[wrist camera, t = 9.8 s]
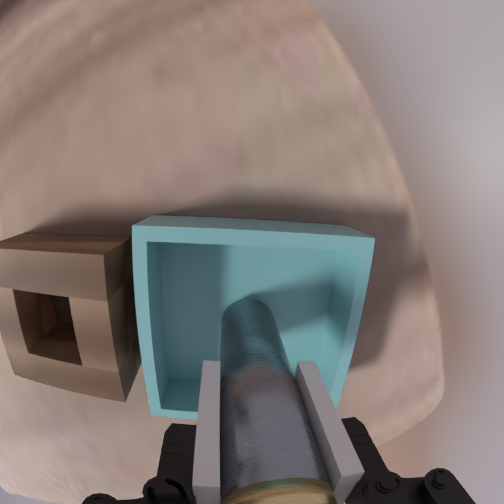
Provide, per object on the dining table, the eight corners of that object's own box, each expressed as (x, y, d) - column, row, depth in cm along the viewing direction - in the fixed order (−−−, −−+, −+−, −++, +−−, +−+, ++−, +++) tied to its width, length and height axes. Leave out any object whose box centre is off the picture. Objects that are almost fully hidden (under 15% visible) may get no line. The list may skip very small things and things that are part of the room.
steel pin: (221, 297, 18) (218, 509, 5) (276, 299, 19) (355, 495, 5) (220, 344, 19) (221, 544, 6) (271, 345, 20) (324, 535, 6)
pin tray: (153, 215, 18) (131, 225, 14) (345, 225, 20) (375, 238, 15) (161, 378, 21) (151, 415, 17) (318, 380, 23) (334, 415, 18)
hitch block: (23, 233, 18) (-17, 247, 13) (132, 236, 19) (103, 254, 14) (42, 344, 20) (14, 374, 15) (141, 361, 21) (125, 402, 16)
